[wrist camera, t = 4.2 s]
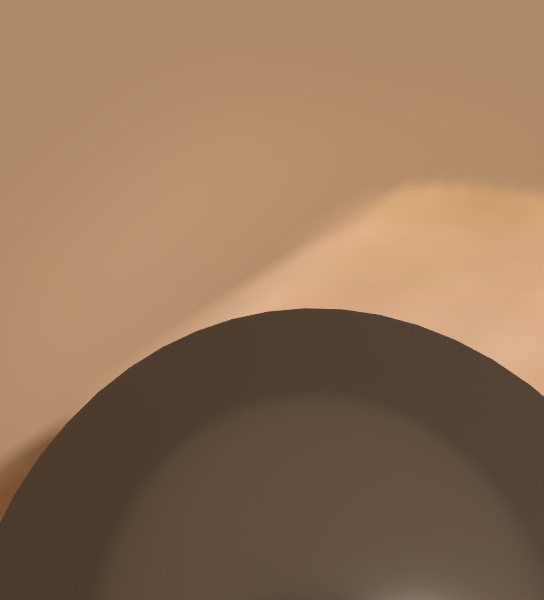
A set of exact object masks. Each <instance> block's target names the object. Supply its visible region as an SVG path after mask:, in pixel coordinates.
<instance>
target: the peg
mask: <svg viewBox="0 0 544 600" xmlns="http://www.w3.org/2000/svg"><path fill="white" fill-rule="evenodd" d="M0 600H544V396H542V395H541V394H540V393H539V392H538V391H536V390H535V389H534V388H533V387H532V386H531V385H529V384H528V383H526V382H525V381H523V380H522V379H520V378H519V377H517V376H516V375H514V374H513V373H511V372H510V371H509V370H507V369H506V368H504V367H503V366H501V365H500V364H498V363H497V362H495V361H494V360H492V359H490V358H488V357H486V356H485V355H483V354H481V353H479V352H477V351H475V350H473V349H471V348H469V347H468V346H466V345H464V344H462V343H460V342H458V341H456V340H454V339H451V338H449V337H446V336H444V335H441V334H439V333H436V332H434V331H431V330H429V329H426V328H424V327H421V326H418V325H415V324H411V323H408V322H404V321H400V320H396V319H393V318H389V317H385V316H381V315H376V314H369V313H363V312H356V311H349V310H342V309H307V308H304V309H293V310H282V311H271V312H264V313H259V314H255V315H250V316H245V317H241V318H236V319H231V320H228V321H225V322H222V323H219V324H216V325H214V326H211V327H208V328H205V329H202V330H199V331H196V332H194V333H192V334H190V335H188V336H185V337H183V338H181V339H179V340H177V341H175V342H173V343H171V344H168V345H166V346H164V347H162V348H161V349H159V350H157V351H156V352H154V353H153V354H151V355H149V356H148V357H146V358H144V359H143V360H141V361H140V362H138V363H136V364H135V365H133V366H132V367H130V368H129V369H127V370H126V371H125V372H124V373H122V374H121V375H120V376H118V377H117V378H116V379H115V380H113V381H112V382H111V383H110V384H108V385H107V386H106V387H105V388H103V389H102V390H101V391H99V392H98V393H97V394H96V395H95V396H94V397H93V398H92V399H91V400H90V401H89V402H88V403H87V404H86V405H85V406H84V407H83V408H82V409H81V410H80V411H79V412H78V413H77V414H76V415H75V416H74V417H73V418H72V419H71V420H70V421H69V422H68V423H67V424H66V425H65V426H64V428H63V429H62V430H61V431H60V433H59V434H58V435H57V436H56V437H55V439H54V440H53V441H52V442H51V444H50V445H49V446H48V447H47V448H46V450H45V451H44V452H43V453H42V455H41V456H40V457H39V459H38V460H37V462H36V463H35V465H34V466H33V468H32V469H31V471H30V472H29V474H28V475H27V477H26V478H25V480H24V481H23V483H22V485H21V486H20V488H19V489H18V491H17V492H16V494H15V495H14V497H13V499H12V501H11V503H10V505H9V507H8V509H7V511H6V513H5V515H4V516H3V518H2V520H1V522H0Z"/></svg>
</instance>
